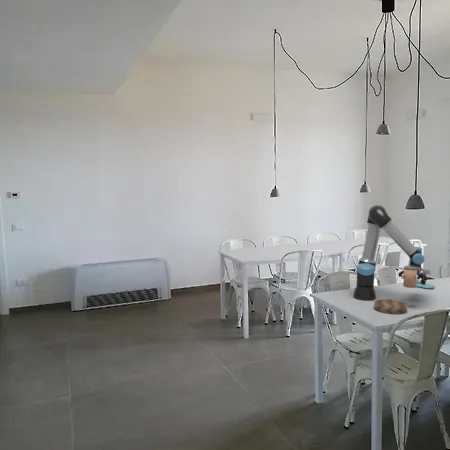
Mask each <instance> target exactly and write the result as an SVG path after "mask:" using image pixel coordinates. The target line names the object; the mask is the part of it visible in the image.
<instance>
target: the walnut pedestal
mask: <svg viewBox="0 0 450 450" xmlns="http://www.w3.org/2000/svg"><path fill="white" fill-rule="evenodd" d="M373 303H374V304H373V309H374V310H375V311H377V312H379V313H382V314H387V313H388V315H403V314H407V312H408V304H407V303H406V302H404V301H401V300H395V299H388V298H387V299H377V300H376V299H375V300H374V302H373Z"/></svg>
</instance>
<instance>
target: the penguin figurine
mask: <svg viewBox="0 0 450 450" xmlns="http://www.w3.org/2000/svg"><path fill="white" fill-rule="evenodd" d="M421 272H423V279H421V278H420V279H418V280H417V283H416V288H418V287H419V288H421V289H422V288H423V289H434V288H436V286H435V285H433V284H431V283H430V284H429V283H427V280H428V278H427V275H431V270H430V269H426V268H422V267H421ZM421 272H420V273H421Z"/></svg>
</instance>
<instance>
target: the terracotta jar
mask: <svg viewBox="0 0 450 450" xmlns="http://www.w3.org/2000/svg"><path fill="white" fill-rule="evenodd" d="M417 268H418V267H415V266H410V265H405V266H403V271H404V278H403V282H402V283H403V285H402V286H403V287H404V288H409V289H415V288H417V287H416V283H417V282H418V280H417V281H416V276H417Z"/></svg>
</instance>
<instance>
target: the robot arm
mask: <svg viewBox="0 0 450 450" xmlns="http://www.w3.org/2000/svg"><path fill="white" fill-rule="evenodd" d="M366 223H367V225H368V227H367V232H366V236H365V241H364V246H363V252H362V255H361V257H360V258H359V259H358V264H357V266H356V287H355V289H354V292H353V298H354V299H356V300H360V301H376V298H377V294H376V291H375V287H374V286H375V272H376V269H375V267H376V264H377V263H376V260H375V258H376V253H377V248H378V244H379V240H380V233H381V229H382V230H384V232H385V233H386V234H387V235H388V236H389V237H390V239H392V241H394V243H396V245H397V246H398V247H399V248H400V249H401V250H402V251H403V253H404V254H406V256H408V257H409V266H415V267H418V268H417V276H416V281H417V282H418V280H421V279H423V274H424V273H423V271H421V268H422V264H423V263H424V262H425V256H424V255H423V248H422V247H420V246H415V245H414V244H413V243H412V242H411V241H410V240H409V239H408V238H407V236H406V235H405V234H404V233H403V232H402V231H401V230H400V229H399V228H398V227H397V226H396V224H395V223H394V222H393V221H392V218H391V217H390V216H389V214H388V212H387V211H386V208H385V207H384V206H382V205H379V204H375V205H373V206H371V207H370V208H369V210H368V216H367V222H366ZM420 272H421V273H420ZM398 278H401V280H404V269H403V270H401V271H399V272H398Z"/></svg>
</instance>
